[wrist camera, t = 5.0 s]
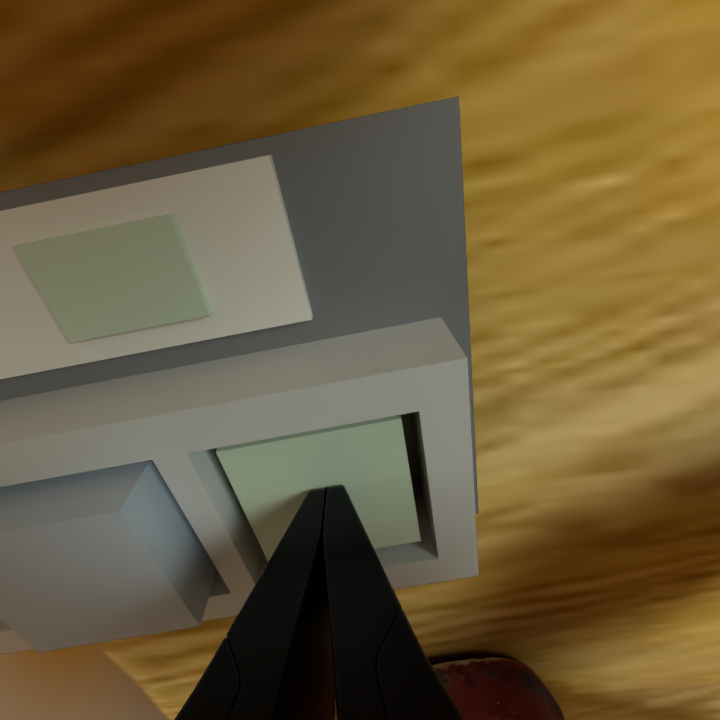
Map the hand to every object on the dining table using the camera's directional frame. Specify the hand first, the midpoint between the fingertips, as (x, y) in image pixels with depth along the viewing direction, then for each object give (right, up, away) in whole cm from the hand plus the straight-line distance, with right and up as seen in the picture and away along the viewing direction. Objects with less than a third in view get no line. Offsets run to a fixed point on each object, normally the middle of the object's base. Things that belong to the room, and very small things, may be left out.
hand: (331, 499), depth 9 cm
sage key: (0, +1, +1) cm, 2 cm away
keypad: (-6, +2, +2) cm, 6 cm away
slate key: (-5, -1, +1) cm, 6 cm away
